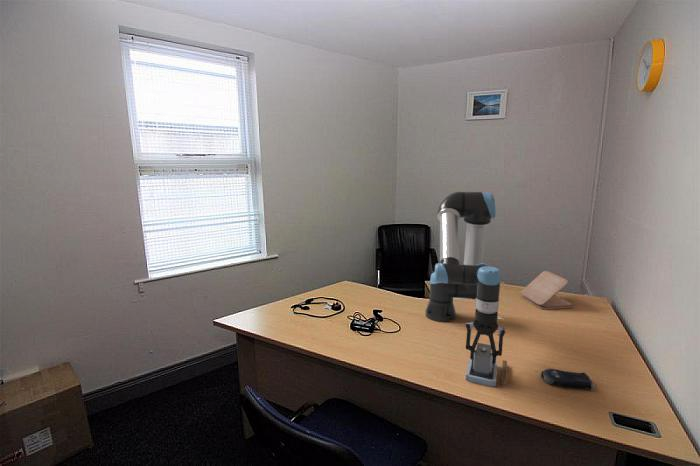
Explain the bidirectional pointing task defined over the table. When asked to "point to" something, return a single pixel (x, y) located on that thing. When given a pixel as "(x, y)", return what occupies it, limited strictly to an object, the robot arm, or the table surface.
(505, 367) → the door edge strip
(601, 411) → the table surface
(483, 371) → the grey block with knob
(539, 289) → the case
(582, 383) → the electronic device
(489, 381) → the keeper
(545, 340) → the table surface
